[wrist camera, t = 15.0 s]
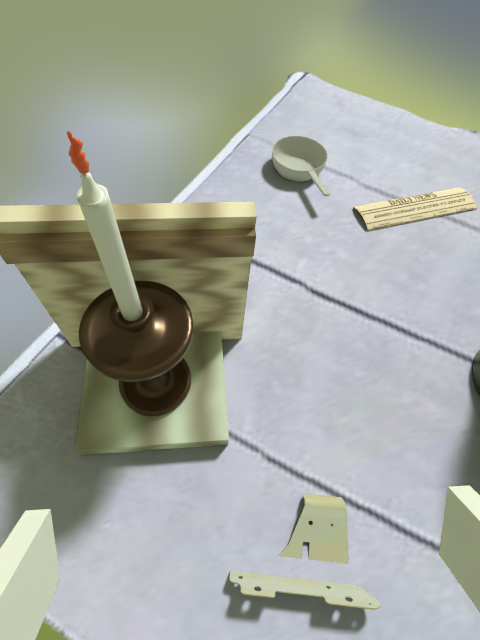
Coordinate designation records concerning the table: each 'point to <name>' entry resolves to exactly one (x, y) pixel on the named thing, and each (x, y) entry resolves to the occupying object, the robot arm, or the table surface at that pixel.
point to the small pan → (300, 160)
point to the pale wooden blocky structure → (146, 265)
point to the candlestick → (131, 315)
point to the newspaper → (416, 208)
